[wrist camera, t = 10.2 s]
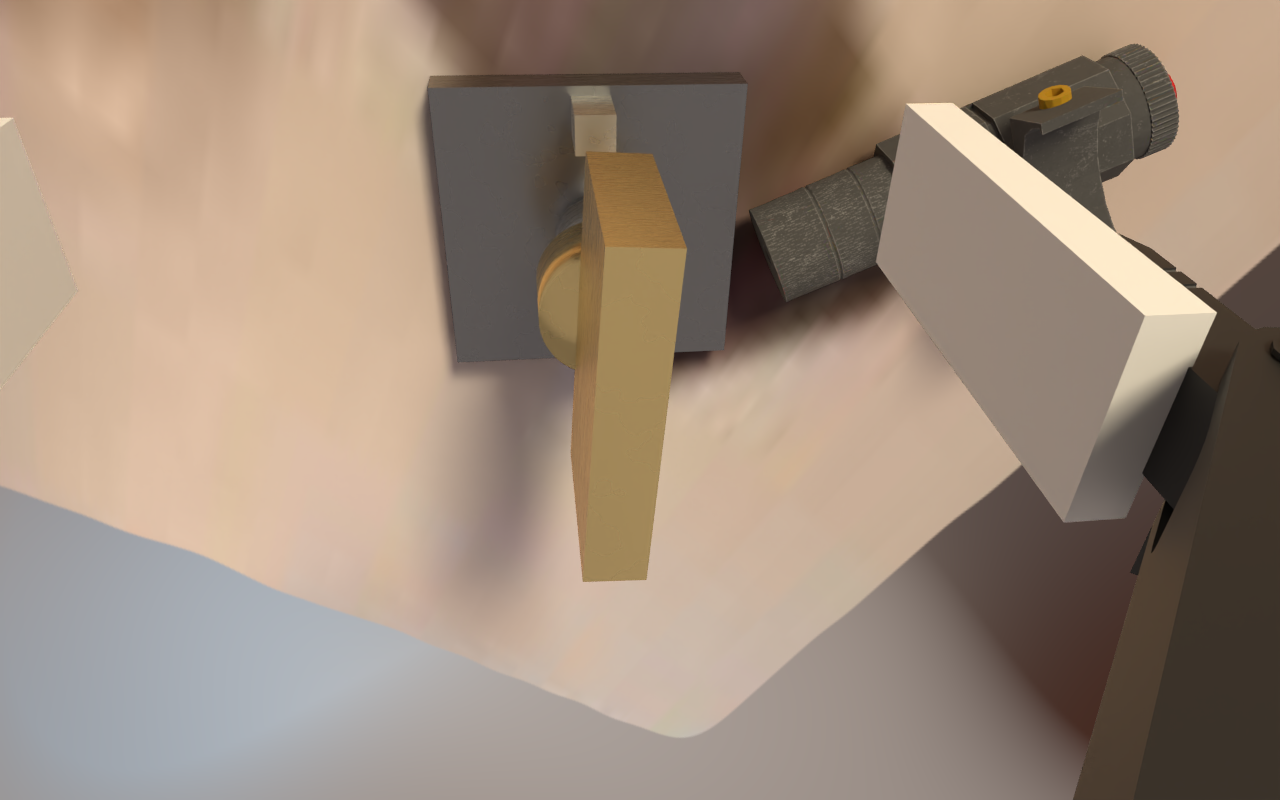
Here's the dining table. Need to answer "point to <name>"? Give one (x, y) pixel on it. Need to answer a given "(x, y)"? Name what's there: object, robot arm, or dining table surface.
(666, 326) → the lever handle
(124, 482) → the dining table surface
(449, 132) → the post base
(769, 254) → the laser sight
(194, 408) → the dining table surface
